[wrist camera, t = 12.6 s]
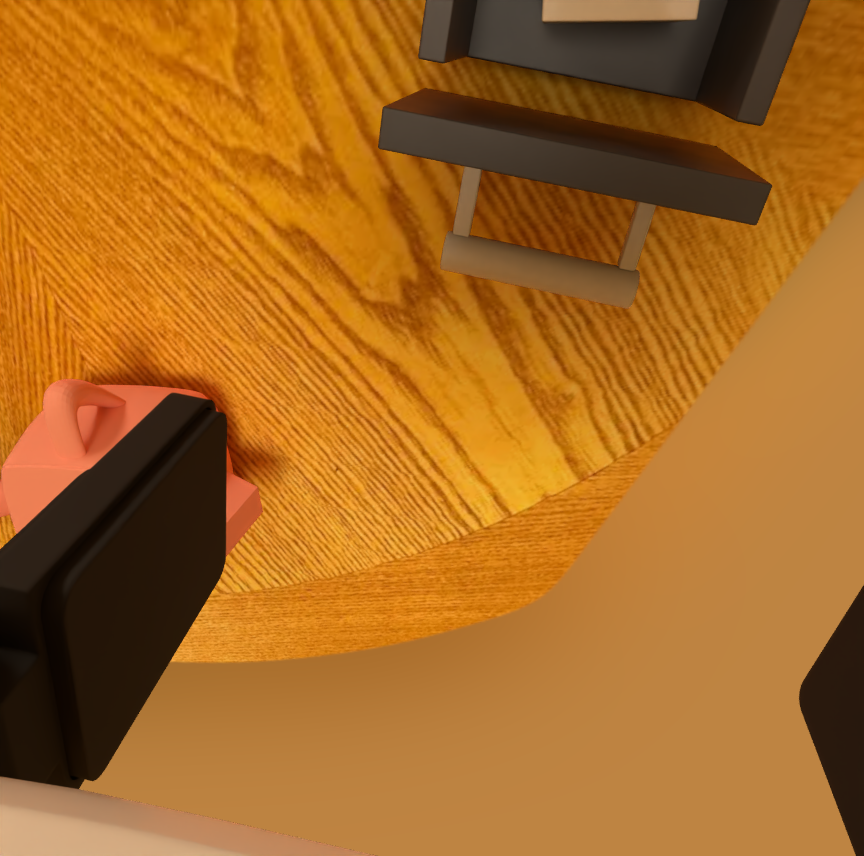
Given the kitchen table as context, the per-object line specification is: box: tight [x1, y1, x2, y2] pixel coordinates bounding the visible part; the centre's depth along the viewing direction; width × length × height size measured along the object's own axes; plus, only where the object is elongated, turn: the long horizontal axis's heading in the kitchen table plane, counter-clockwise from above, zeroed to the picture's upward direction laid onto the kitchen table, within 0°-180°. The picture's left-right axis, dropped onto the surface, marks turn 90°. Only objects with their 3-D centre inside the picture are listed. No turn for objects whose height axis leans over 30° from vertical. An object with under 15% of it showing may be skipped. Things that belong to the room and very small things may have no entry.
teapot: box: [0, 379, 263, 556], centre depth 35 cm, size 12×12×10 cm
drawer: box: [378, 0, 810, 309], centre depth 22 cm, size 18×12×8 cm, turn 171°
